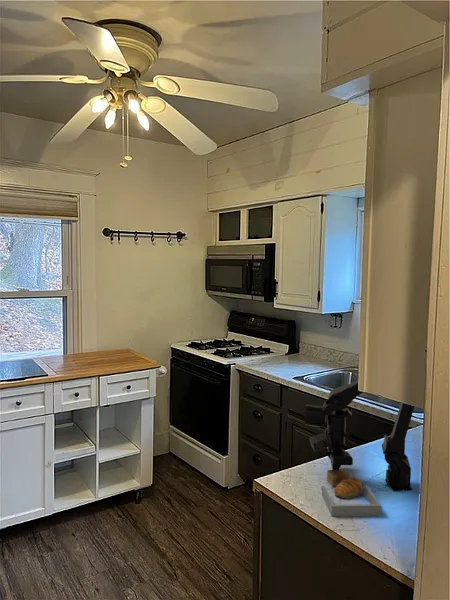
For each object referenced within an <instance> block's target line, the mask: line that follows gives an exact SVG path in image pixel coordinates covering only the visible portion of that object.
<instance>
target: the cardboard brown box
mask: <svg viewBox="0 0 450 600" xmlns="http://www.w3.org/2000/svg"><path fill="white" fill-rule="evenodd" d="M350 477H351V474H350V472H348V470H347V469H345V468H339V469H335V470H332V469H328V470H327V471H326V481H327V482H328V484H329V485H330V486H331V487H333V488H336V486H337V485H338V484H339V483H340V482H341V481H342V480H346V479H348V478H350Z"/></svg>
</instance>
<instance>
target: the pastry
mask: <svg viewBox="0 0 450 600" xmlns="http://www.w3.org/2000/svg"><path fill="white" fill-rule="evenodd" d="M363 492H365V488H364V486H363V484H362V483H361V481H360V480H359V479H358V478H356V477H352V476H350V478H348V479H346V480H342V481H341V482H340V483H339V484H338V485H337V486H335V487H334V495H335V496H336V497H339V498H342V499H347V498H349V497H350V498H355V497H357V496H360V495H361V494H362V493H363Z"/></svg>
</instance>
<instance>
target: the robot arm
mask: <svg viewBox="0 0 450 600" xmlns="http://www.w3.org/2000/svg"><path fill="white" fill-rule="evenodd" d="M363 393H364V392H359V391H358V379H356V380H354V381H353V382H350V383H349V384H344V385H340V386H338V387H335V388H333V389H332V390H330V391H329V394H328V397H327V399H326V400H325V402H323V404H322V405H314V404H309V403H308V404H306V405H305V406H306V407H305V414H304V426H311V427H319V428H320V427H321V428H323V427H324V425H326V421H327V427H326V428H325V429H324V432H323V433H319V434H315V435H313V436H311V437H309V438H308V439H309V442H310V445H311V448H312V450H313V452H314V453H317V452H320V451H323V450H324V452H325V453H326V454H327V457H328V459H329V460H330V465H331V470H335V469H341V466H353V465H354V463H353V462H354V458H353V456H352V455H351V454H350V452H349V451H346V450H347V444H346V438H347V437H348V433H347V432H346V425H347V424H346V422H347V418H352V417H353V412H352V411H350V409H349V408H348V406H349V405H351V403H352V402H353V401H354V400H355V399H356V398H357V397H358V396H360V395H361V394H363ZM415 407H416V405H415V406H411V405H407V404H403V403H401V402H400V404H399V408H398V412H397V414H396V419H395V420H394V421H395V422H394V424H393V428H392V431H391V433H390V434H389V435H387V434H384V440H383V442H382V444H381V449H382V454H383V456H384V460H385V462H386V463H387V464H388V465H387V469H386V470H385V479H384V481H385V483H386V484H387V485H388V487H389V488H390V489H391V491H413V487H412V486H411V477H412V467H411V464H410V460H409V457H408V456H407V454H406V453H405V452H406V438H407V433H408V430H409V426H410V423H411V420H412V418H413V413H414V410H415Z"/></svg>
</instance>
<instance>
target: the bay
mask: <svg viewBox="0 0 450 600" xmlns="http://www.w3.org/2000/svg"><path fill="white" fill-rule="evenodd" d="M363 496H365V498H366V500H367V501H368V503H365V504H364V503H363V504H362V503H361V504H358V503H357V504H356V503H355V504H334V502H333V500H332V497H331V496H330V494H329V492H328V490H327V487H326V486H325V485H322V486H321V497H322V500H323V501H324V503H325V506H326V507H327V509H328V512H329V514H330V516H331V517H369V516H370V517H371V516H379V517H380V516H381V515H382V514H381V513H382V505H381V503H380V502H379V500H378V499H377V498H376V496H375V494H374V493H373V492H372V490H371V488H370V487H369V486H368V485H367V484H365V485H364V495H363Z"/></svg>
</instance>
